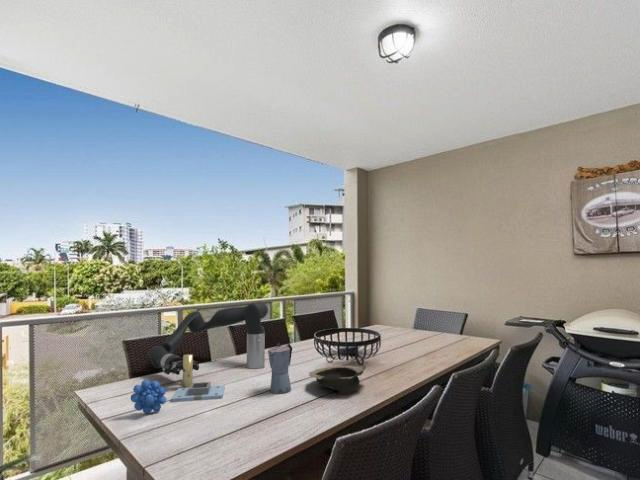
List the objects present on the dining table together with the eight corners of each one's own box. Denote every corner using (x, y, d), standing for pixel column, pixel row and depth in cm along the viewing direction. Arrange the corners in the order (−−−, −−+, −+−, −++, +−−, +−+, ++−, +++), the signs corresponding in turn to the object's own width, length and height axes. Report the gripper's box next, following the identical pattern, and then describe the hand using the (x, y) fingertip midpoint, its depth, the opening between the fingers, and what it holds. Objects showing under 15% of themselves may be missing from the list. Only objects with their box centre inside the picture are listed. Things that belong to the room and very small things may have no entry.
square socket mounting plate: (224, 388, 151) (224, 379, 152) (222, 398, 140) (222, 388, 140) (178, 391, 148) (178, 382, 148) (171, 401, 136) (172, 392, 136)
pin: (192, 386, 153) (193, 353, 155) (191, 389, 150) (192, 356, 151) (183, 387, 153) (184, 354, 154) (181, 390, 149) (182, 356, 150)
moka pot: (260, 393, 144) (261, 344, 146) (281, 382, 158) (281, 337, 160) (279, 397, 140) (280, 346, 141) (299, 386, 154) (299, 339, 155)
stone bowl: (365, 399, 137) (362, 375, 138) (303, 400, 142) (301, 376, 143) (369, 379, 161) (367, 358, 162) (316, 379, 166) (314, 360, 167)
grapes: (130, 422, 118) (131, 385, 119) (129, 414, 124) (130, 380, 125) (167, 414, 124) (168, 379, 125) (165, 408, 130) (166, 374, 131)
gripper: (186, 368, 167) (203, 375, 156) (156, 374, 157) (171, 383, 146) (187, 351, 168) (204, 358, 157) (156, 357, 157) (172, 364, 146)
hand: (188, 370), depth 151 cm, fingers open, 8 cm apart
